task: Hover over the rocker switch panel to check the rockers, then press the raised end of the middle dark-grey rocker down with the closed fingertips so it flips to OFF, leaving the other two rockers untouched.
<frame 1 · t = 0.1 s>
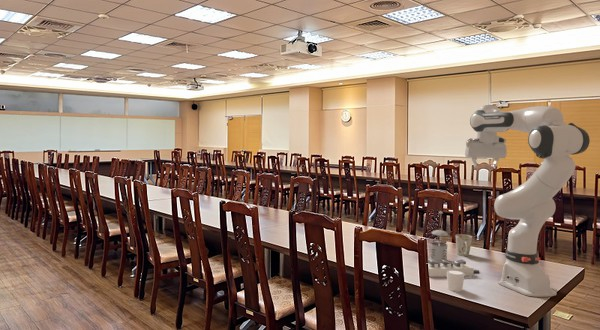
hand: (484, 167, 215), 48 cm above the table, tool pointing down, fingers open, 8 cm apart
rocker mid: (446, 262, 199), point 5 cm above the table, hinge at 12.0°
shot glass: (454, 289, 179), on the table
mug: (463, 255, 232), on the table
french press: (438, 260, 222), on the table
rocker 2: (459, 262, 200), point 5 cm above the table, hinge at -12.0°
rocker switch panel: (446, 273, 199), on the table
rocker 1: (433, 263, 198), point 5 cm above the table, hinge at 12.0°
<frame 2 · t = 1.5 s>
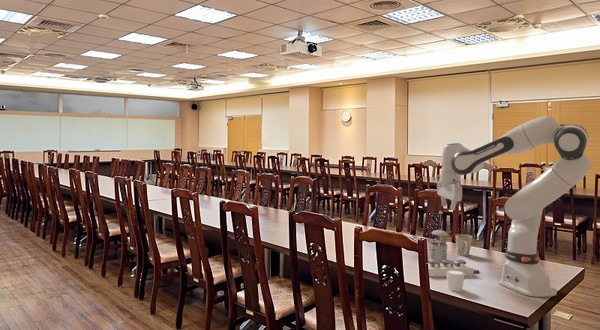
hand: (448, 208, 203), 29 cm above the table, tool pointing down, fingers open, 8 cm apart
nothing on the table moved.
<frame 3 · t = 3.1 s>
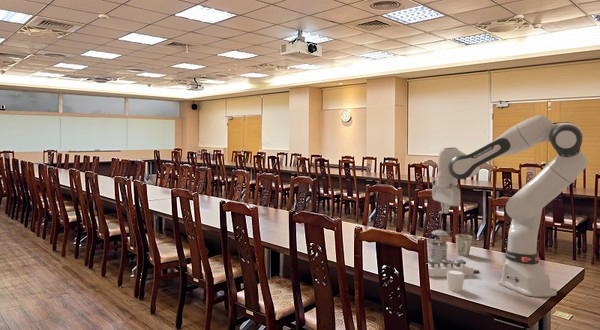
hand: (445, 212, 202), 27 cm above the table, tool pointing down, fingers closed
nothing on the table moved.
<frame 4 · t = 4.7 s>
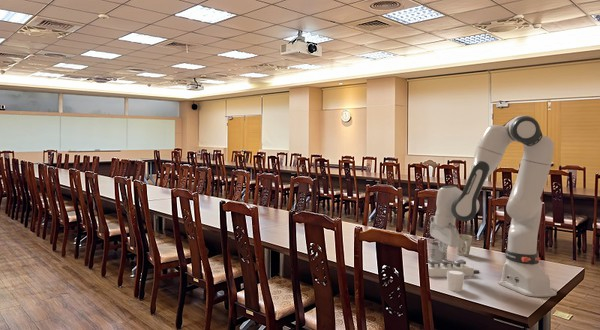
hand: (442, 251, 199), 10 cm above the table, tool pointing down, fingers closed
nothing on the table moved.
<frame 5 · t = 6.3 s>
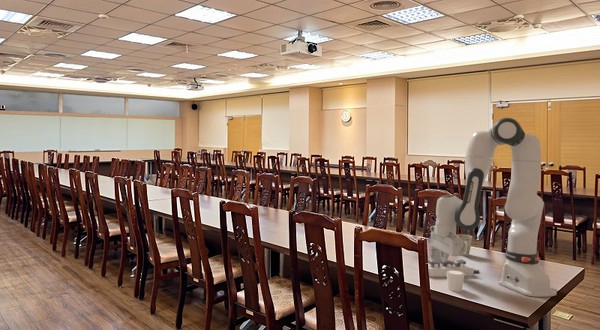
hand: (444, 260, 199), 6 cm above the table, tool pointing down, fingers closed
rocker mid: (446, 262, 199), point 5 cm above the table, hinge at -0.8°
everything else where it was.
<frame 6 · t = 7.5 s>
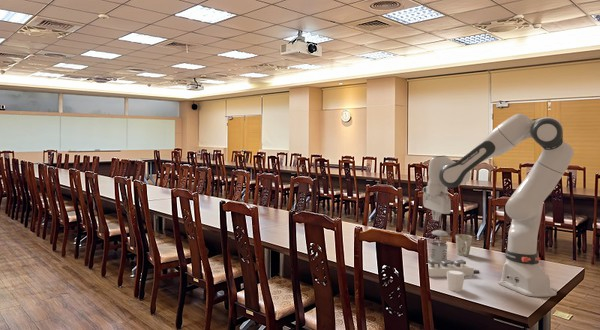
hand: (435, 220, 203), 23 cm above the table, tool pointing down, fingers closed
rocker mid: (446, 262, 199), point 5 cm above the table, hinge at -9.4°
everything else where it was.
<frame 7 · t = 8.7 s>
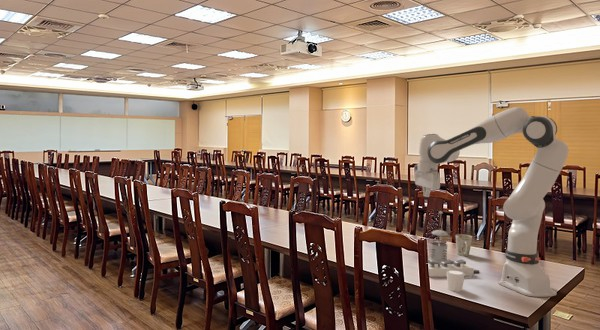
hand: (426, 196, 210), 33 cm above the table, tool pointing down, fingers closed
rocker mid: (446, 262, 199), point 5 cm above the table, hinge at -15.8°
everything else where it was.
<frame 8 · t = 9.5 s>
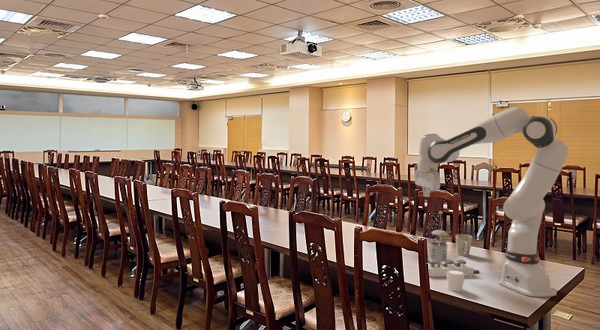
hand: (426, 196, 210), 33 cm above the table, tool pointing down, fingers closed
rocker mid: (446, 262, 199), point 5 cm above the table, hinge at -19.1°, touching rocker switch panel
everything else where it was.
at the end: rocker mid at -19° (first picture: +12°); rocker 1 at +12° (first picture: +12°); rocker 2 at -12° (first picture: -12°) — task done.
